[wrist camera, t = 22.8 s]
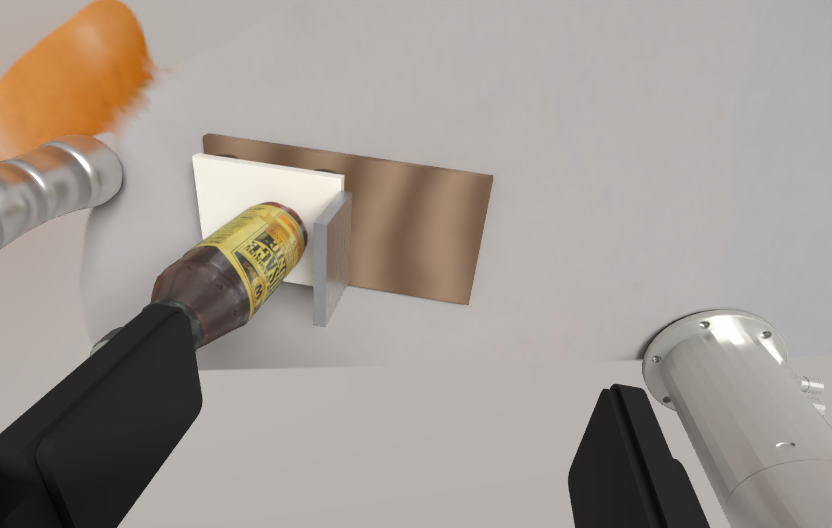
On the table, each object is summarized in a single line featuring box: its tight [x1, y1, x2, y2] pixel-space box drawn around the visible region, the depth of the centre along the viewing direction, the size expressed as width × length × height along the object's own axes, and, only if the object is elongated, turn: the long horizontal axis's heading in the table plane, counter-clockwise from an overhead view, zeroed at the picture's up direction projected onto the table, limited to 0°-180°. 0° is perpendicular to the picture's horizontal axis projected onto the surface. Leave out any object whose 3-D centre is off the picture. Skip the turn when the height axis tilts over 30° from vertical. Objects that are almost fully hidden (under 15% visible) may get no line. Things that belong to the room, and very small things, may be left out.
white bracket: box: [192, 153, 352, 327], centre depth 40 cm, size 14×11×10 cm
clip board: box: [203, 134, 493, 305], centre depth 44 cm, size 26×13×1 cm, turn 84°
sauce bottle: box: [90, 202, 308, 356], centre depth 33 cm, size 6×6×20 cm
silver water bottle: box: [0, 134, 123, 249], centre depth 37 cm, size 6×7×20 cm
